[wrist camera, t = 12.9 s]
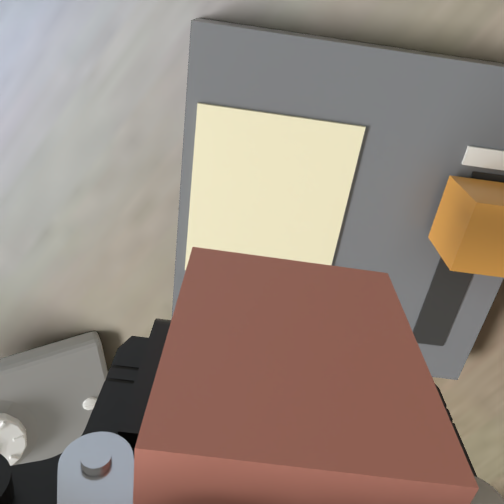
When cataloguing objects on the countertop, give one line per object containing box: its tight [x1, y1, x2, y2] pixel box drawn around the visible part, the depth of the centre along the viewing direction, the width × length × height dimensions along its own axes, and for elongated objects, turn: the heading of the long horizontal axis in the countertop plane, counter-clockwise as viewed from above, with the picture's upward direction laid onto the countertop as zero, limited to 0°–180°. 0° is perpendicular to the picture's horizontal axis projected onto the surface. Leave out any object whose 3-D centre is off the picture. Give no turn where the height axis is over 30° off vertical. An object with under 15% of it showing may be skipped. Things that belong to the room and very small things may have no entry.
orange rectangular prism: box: [428, 175, 504, 278], centre depth 20 cm, size 3×4×3 cm
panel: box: [172, 18, 504, 380], centre depth 23 cm, size 16×16×2 cm
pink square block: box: [133, 247, 479, 504], centre depth 10 cm, size 5×5×7 cm
